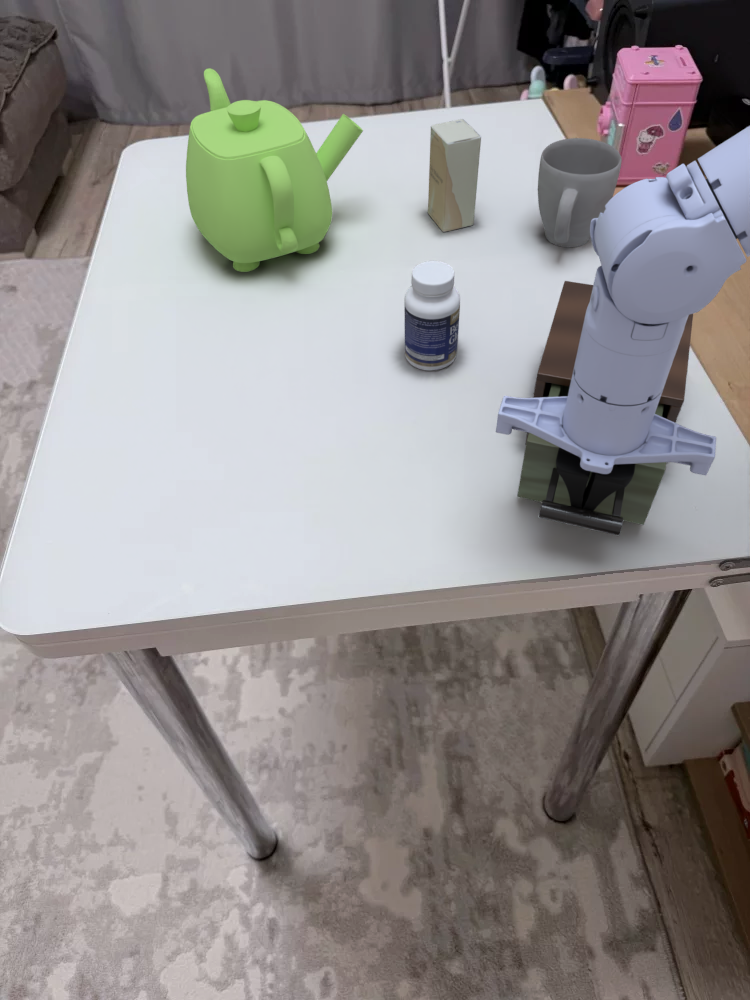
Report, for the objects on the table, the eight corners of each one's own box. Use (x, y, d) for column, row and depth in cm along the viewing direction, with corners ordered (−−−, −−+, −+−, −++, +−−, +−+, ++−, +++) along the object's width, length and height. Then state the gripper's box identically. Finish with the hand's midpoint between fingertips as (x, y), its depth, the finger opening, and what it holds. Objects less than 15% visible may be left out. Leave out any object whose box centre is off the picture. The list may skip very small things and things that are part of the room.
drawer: (637, 573, 57) (659, 519, 52) (504, 542, 60) (513, 487, 54) (657, 421, 68) (678, 363, 62) (543, 399, 70) (554, 342, 65)
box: (426, 213, 94) (428, 123, 85) (458, 205, 95) (462, 116, 86) (443, 234, 91) (447, 142, 82) (475, 226, 91) (482, 135, 83)
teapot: (403, 253, 88) (402, 115, 76) (231, 305, 83) (200, 166, 71) (322, 165, 103) (310, 37, 91) (171, 204, 98) (137, 74, 85)
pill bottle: (458, 372, 74) (463, 288, 67) (404, 372, 75) (404, 290, 67) (455, 337, 78) (460, 255, 70) (404, 338, 78) (403, 256, 70)
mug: (539, 211, 93) (550, 133, 86) (610, 222, 91) (628, 142, 83) (516, 263, 86) (526, 183, 79) (593, 276, 84) (610, 195, 76)
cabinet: (656, 472, 65) (684, 400, 58) (524, 445, 68) (537, 373, 61) (669, 373, 73) (694, 300, 66) (551, 353, 76) (564, 280, 69)
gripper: (493, 394, 47) (478, 525, 57) (736, 442, 43) (673, 572, 54) (516, 327, 51) (498, 461, 61) (739, 366, 48) (680, 500, 58)
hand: (581, 508), depth 58 cm, fingers closed, pressing on drawer
